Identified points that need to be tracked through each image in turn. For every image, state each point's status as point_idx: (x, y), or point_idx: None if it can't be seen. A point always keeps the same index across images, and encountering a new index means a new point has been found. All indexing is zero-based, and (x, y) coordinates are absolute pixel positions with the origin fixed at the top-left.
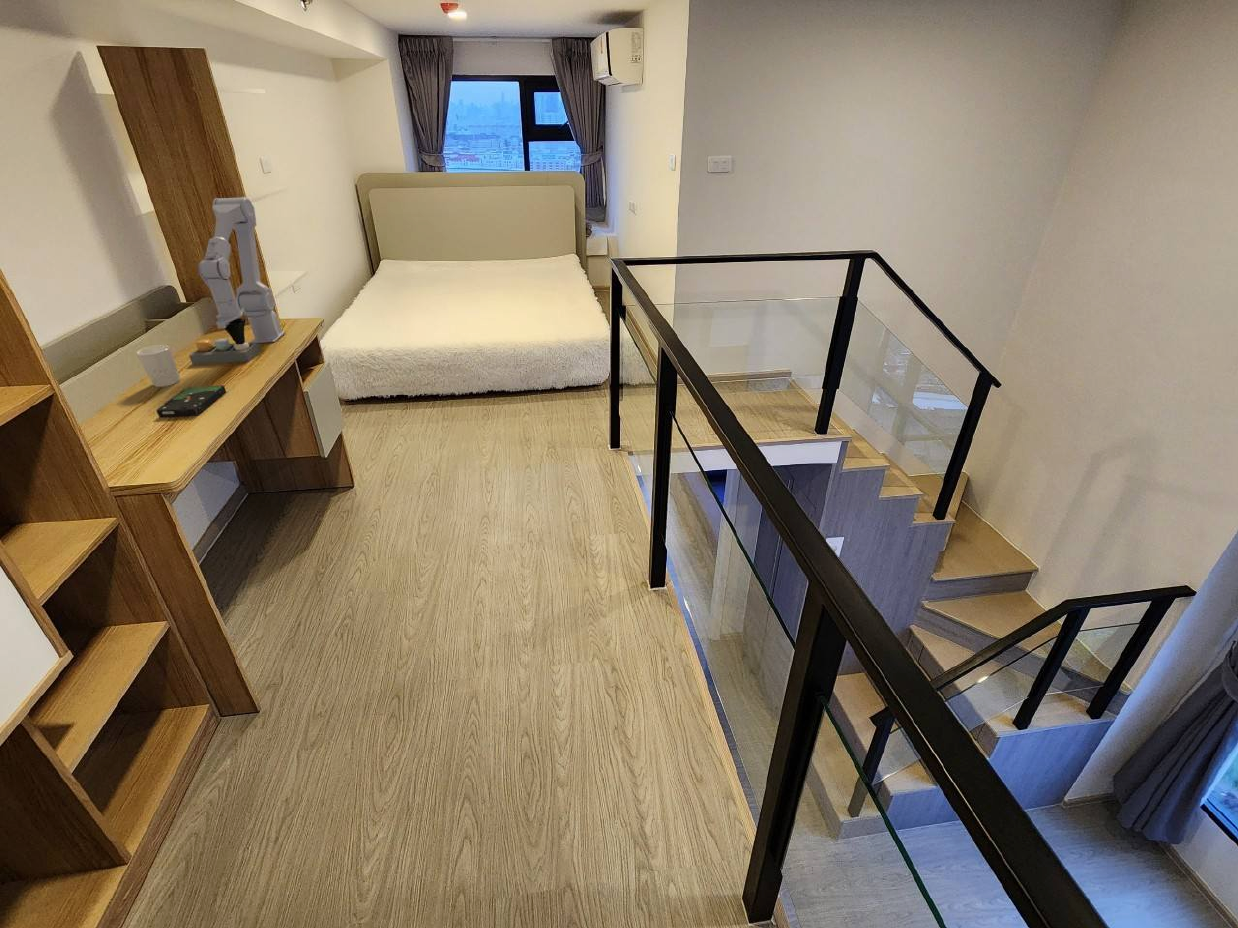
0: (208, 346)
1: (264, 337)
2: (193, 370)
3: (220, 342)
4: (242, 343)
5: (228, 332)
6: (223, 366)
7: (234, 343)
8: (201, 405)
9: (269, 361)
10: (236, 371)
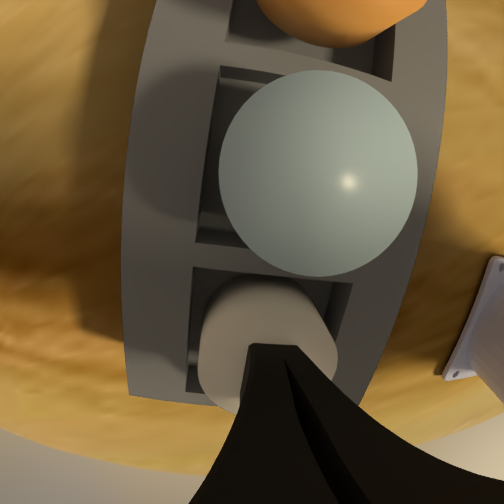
0: (289, 8)
1: (481, 349)
2: (66, 11)
3: (228, 192)
4: (240, 398)
5: (213, 467)
6: (76, 198)
7: (419, 233)
8: None
9: (137, 432)
10: (5, 311)
